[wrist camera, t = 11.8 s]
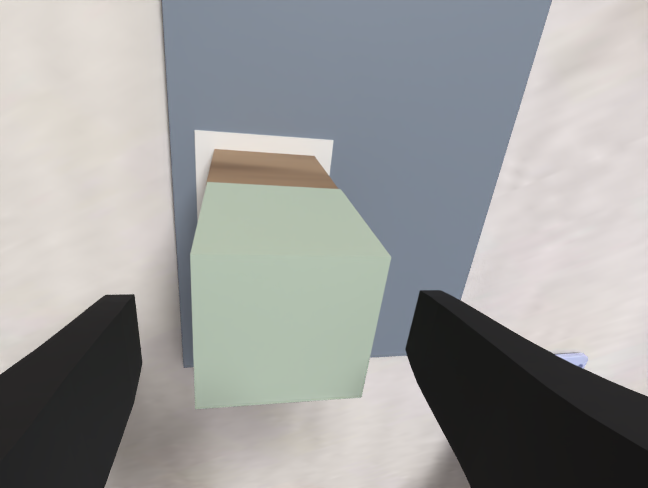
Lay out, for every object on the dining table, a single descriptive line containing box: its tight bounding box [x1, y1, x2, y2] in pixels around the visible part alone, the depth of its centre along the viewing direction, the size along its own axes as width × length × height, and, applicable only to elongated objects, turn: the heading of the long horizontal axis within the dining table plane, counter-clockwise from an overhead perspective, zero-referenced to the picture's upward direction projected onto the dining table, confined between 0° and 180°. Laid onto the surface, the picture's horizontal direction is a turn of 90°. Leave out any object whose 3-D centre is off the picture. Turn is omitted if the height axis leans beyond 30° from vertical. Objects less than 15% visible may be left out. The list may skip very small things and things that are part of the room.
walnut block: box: [206, 149, 338, 189], centre depth 16 cm, size 4×4×5 cm
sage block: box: [190, 182, 391, 409], centre depth 12 cm, size 4×4×5 cm
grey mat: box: [162, 0, 552, 368], centre depth 19 cm, size 20×16×1 cm
